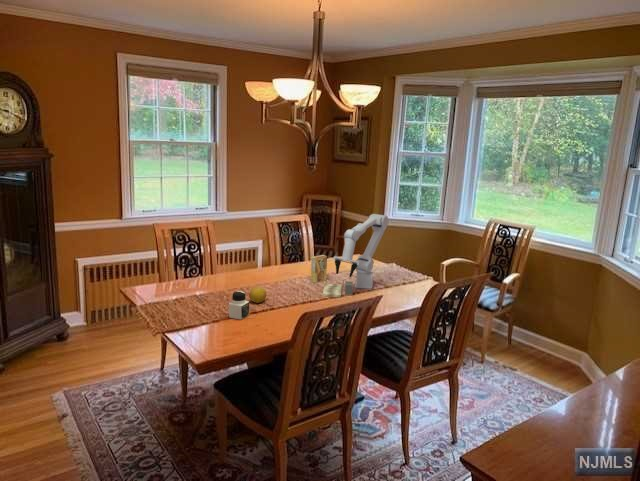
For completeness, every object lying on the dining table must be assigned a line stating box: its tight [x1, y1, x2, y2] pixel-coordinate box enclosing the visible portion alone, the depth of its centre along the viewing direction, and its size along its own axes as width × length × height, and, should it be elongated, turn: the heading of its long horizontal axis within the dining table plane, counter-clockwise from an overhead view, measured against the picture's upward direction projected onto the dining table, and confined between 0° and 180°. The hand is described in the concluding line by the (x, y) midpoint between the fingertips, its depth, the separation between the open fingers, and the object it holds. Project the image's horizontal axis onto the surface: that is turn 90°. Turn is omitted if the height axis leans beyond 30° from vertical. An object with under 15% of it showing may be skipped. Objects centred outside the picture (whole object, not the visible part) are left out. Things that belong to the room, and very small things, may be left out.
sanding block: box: [344, 281, 354, 297], centre depth 268 cm, size 4×7×6 cm, turn 176°
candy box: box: [310, 254, 328, 284], centre depth 289 cm, size 9×4×15 cm, turn 129°
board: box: [322, 283, 343, 298], centre depth 272 cm, size 10×19×1 cm, turn 176°
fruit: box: [248, 286, 267, 304], centre depth 251 cm, size 9×8×8 cm
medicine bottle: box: [228, 290, 250, 321], centre depth 231 cm, size 7×7×12 cm
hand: (343, 275), depth 267 cm, fingers open, 7 cm apart
